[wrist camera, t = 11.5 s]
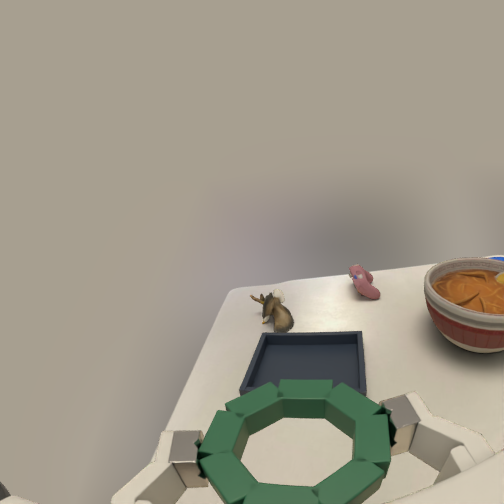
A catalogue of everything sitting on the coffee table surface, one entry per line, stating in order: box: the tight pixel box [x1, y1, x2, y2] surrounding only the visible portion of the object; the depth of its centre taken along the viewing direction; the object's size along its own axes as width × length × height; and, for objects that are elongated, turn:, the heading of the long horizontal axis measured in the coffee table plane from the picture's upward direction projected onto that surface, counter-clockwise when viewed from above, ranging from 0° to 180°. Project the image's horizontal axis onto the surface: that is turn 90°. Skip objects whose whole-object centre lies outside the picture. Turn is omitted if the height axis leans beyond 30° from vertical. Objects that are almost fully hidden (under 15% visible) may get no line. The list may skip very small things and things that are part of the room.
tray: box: [239, 331, 366, 397], centre depth 45 cm, size 17×15×2 cm
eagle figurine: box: [250, 289, 294, 333], centre depth 60 cm, size 8×7×9 cm
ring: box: [199, 379, 391, 504], centre depth 10 cm, size 6×6×1 cm
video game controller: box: [349, 264, 380, 299], centre depth 67 cm, size 10×5×7 cm, turn 171°
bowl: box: [424, 257, 504, 353], centre depth 42 cm, size 23×23×10 cm
